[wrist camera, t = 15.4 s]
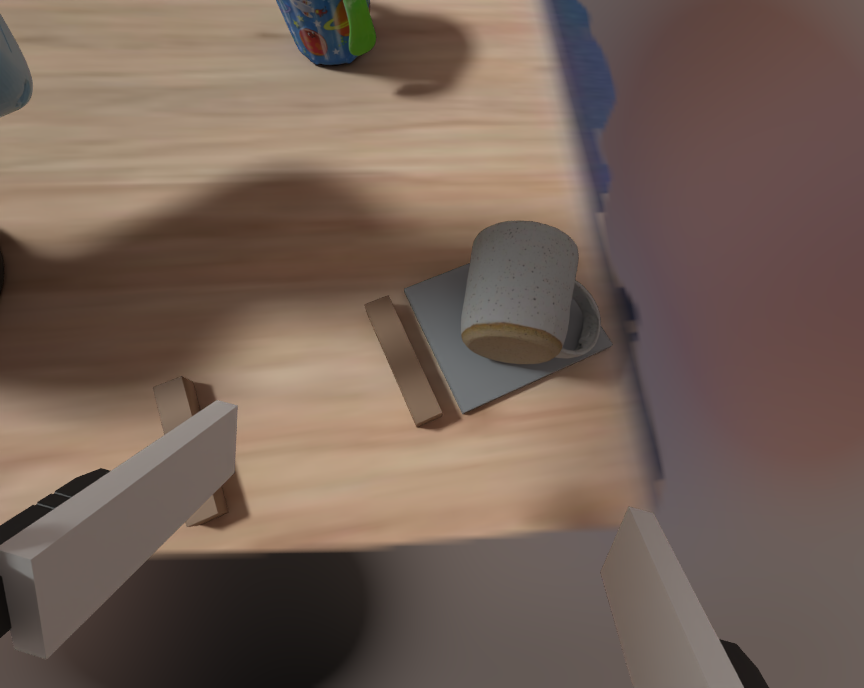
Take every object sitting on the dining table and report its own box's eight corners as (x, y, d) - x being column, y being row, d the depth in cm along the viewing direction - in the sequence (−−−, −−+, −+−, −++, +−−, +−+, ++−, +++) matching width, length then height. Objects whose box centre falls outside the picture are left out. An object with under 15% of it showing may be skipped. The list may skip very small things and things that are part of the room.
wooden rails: (165, 392, 31) (153, 387, 30) (389, 303, 34) (388, 295, 32) (199, 525, 28) (186, 527, 27) (441, 416, 31) (442, 412, 30)
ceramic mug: (452, 359, 32) (463, 320, 25) (467, 265, 34) (481, 206, 27) (589, 383, 32) (642, 352, 24) (594, 288, 34) (643, 234, 27)
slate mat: (404, 292, 34) (404, 288, 34) (541, 238, 36) (543, 234, 36) (462, 414, 31) (463, 412, 31) (609, 347, 33) (612, 344, 33)
